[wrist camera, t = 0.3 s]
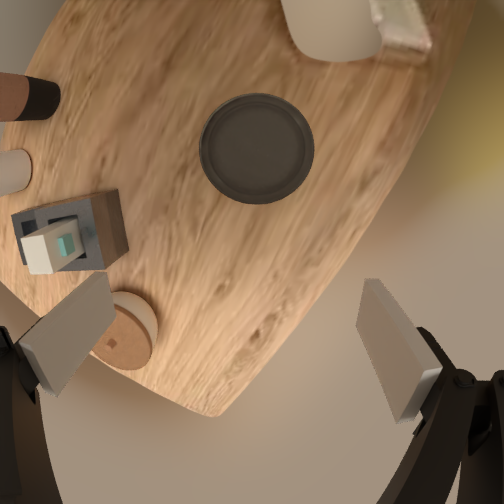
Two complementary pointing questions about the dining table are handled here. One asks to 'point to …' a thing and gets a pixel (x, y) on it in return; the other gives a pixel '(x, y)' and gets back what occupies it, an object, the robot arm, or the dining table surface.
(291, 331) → the dining table surface
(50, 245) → the plug
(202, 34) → the dining table surface
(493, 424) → the robot arm
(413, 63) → the dining table surface
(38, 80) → the travel mug
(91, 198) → the grey stepped socket block
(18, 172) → the beverage can
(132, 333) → the lidded bowl
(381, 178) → the dining table surface
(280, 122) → the coffee can
